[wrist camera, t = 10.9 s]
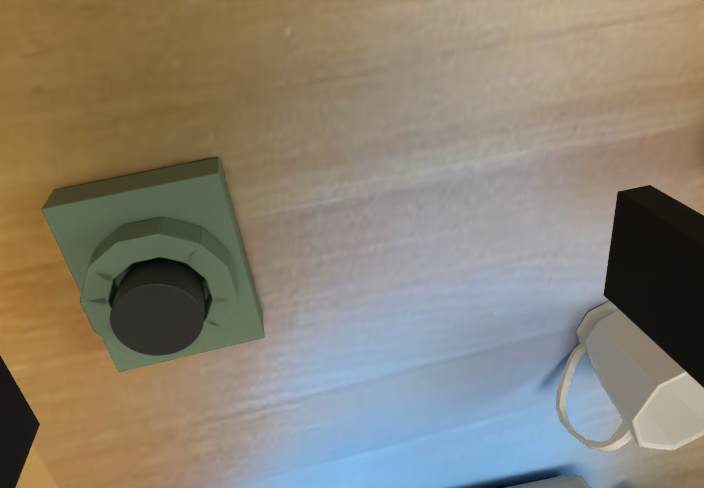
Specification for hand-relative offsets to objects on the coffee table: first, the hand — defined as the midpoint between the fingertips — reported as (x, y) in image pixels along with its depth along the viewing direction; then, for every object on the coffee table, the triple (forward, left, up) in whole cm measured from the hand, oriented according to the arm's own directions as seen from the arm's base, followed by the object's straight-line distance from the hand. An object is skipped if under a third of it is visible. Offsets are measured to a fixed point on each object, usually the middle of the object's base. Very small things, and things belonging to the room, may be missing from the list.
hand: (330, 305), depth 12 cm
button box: (-3, -10, -17) cm, 20 cm away
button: (-3, -10, -14) cm, 17 cm away
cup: (+26, -10, -18) cm, 33 cm away
